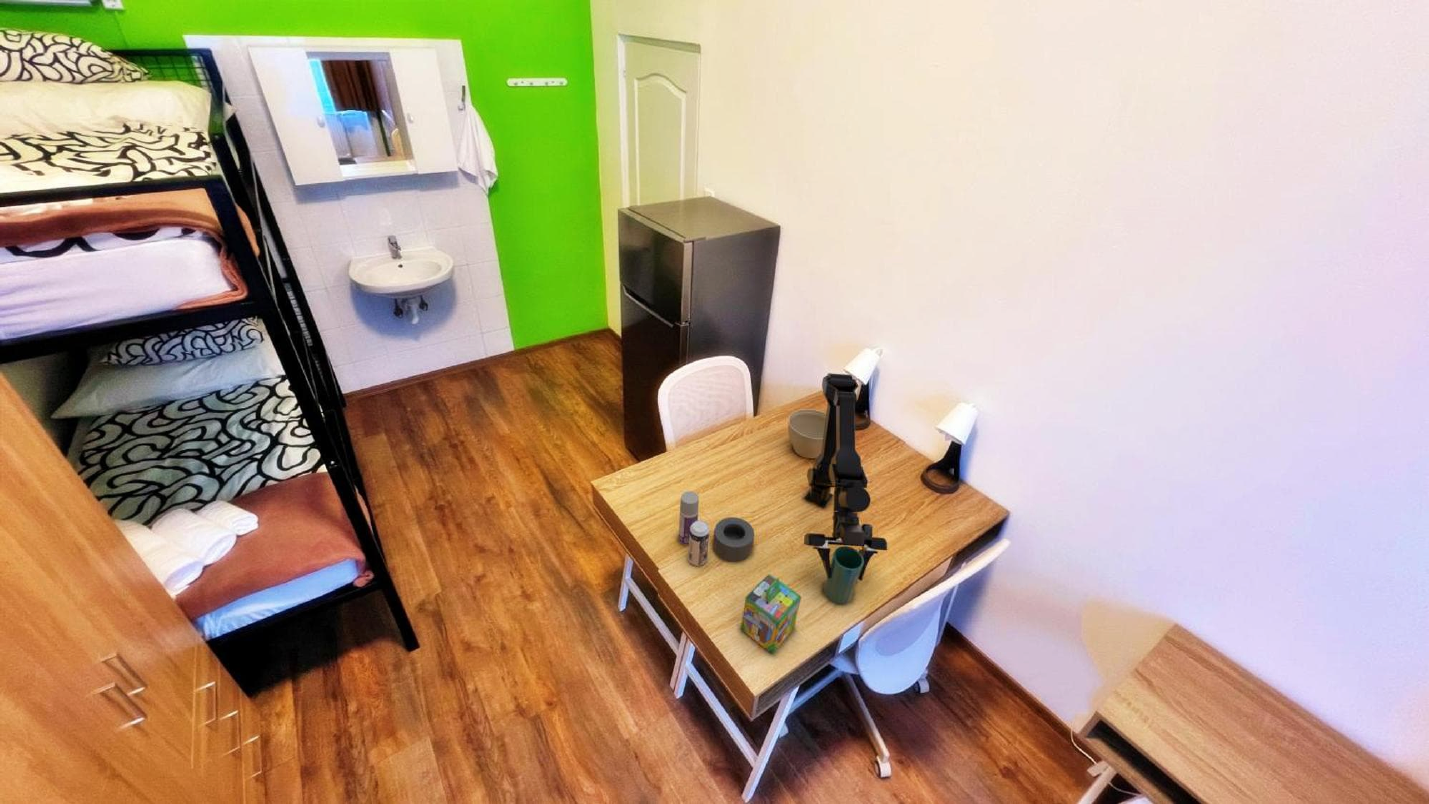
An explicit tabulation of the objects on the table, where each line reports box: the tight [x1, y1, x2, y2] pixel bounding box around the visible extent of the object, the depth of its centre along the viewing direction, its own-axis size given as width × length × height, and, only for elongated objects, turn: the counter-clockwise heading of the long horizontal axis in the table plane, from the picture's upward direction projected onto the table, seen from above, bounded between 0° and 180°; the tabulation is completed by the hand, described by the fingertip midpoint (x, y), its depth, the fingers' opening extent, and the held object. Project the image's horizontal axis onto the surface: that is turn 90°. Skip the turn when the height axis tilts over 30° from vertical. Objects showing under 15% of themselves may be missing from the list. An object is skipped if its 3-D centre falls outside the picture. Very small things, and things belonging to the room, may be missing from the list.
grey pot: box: [712, 516, 755, 563], centre depth 144 cm, size 10×10×6 cm
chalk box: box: [740, 573, 802, 655], centre depth 122 cm, size 9×9×15 cm
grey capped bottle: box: [687, 519, 711, 567], centre depth 138 cm, size 5×5×12 cm
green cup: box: [823, 545, 864, 605], centre depth 132 cm, size 7×7×12 cm
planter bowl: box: [787, 408, 826, 459], centre depth 179 cm, size 16×16×11 cm
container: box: [677, 490, 700, 547], centre depth 142 cm, size 5×5×15 cm
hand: (844, 579), depth 131 cm, fingers closed on green cup, 7 cm apart
